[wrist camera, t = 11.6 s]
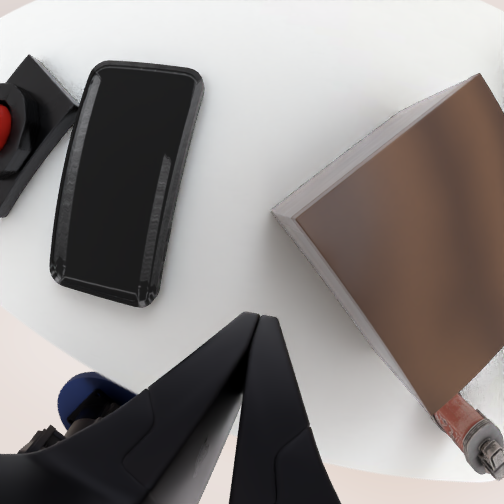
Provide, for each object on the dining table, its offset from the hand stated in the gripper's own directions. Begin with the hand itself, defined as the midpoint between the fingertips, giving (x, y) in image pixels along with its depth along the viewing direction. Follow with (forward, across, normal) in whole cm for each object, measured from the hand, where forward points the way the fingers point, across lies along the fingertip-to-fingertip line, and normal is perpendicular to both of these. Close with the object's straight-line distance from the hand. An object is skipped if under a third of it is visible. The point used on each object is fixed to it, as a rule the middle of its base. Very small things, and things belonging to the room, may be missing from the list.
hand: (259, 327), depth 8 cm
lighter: (+11, -17, +17) cm, 27 cm away
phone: (+11, +11, 0) cm, 15 cm away
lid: (+7, -9, 0) cm, 11 cm away
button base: (+10, +20, -3) cm, 23 cm away
